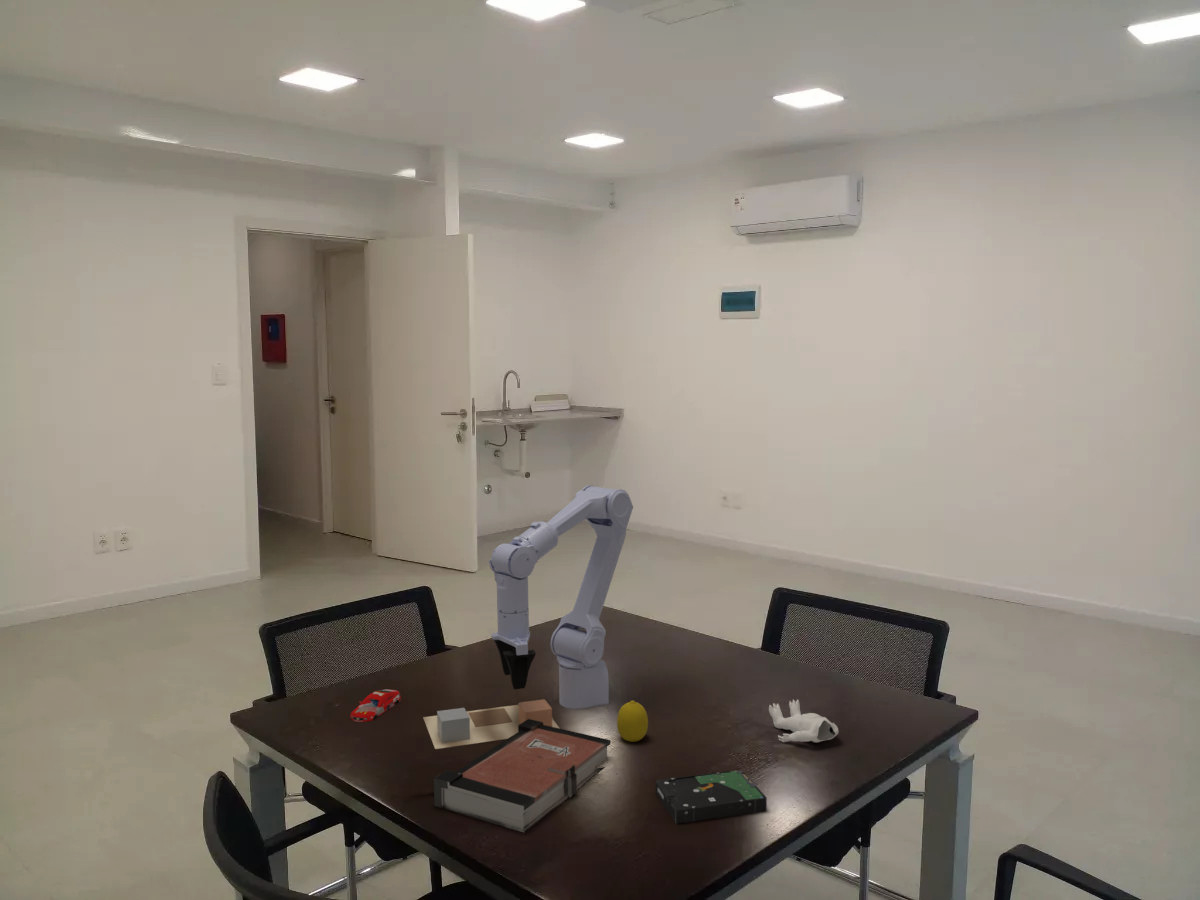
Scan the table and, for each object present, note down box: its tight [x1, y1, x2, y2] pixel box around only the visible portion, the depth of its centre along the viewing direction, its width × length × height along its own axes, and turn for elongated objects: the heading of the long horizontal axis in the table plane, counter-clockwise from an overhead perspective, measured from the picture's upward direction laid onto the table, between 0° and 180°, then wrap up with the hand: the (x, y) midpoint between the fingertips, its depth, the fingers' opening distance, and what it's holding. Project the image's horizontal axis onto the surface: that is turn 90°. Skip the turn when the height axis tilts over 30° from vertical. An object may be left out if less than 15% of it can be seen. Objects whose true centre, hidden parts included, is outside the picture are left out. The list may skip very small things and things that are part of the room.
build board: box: [422, 704, 561, 750], centre depth 171 cm, size 23×15×1 cm, turn 109°
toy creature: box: [768, 699, 840, 743], centre depth 167 cm, size 12×6×12 cm
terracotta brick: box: [518, 698, 553, 727], centre depth 169 cm, size 5×5×4 cm
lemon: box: [616, 699, 649, 743], centre depth 164 cm, size 6×6×8 cm
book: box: [433, 719, 611, 834], centre depth 149 cm, size 26×18×5 cm
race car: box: [349, 689, 402, 723], centre depth 178 cm, size 13×5×4 cm, turn 161°
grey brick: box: [436, 707, 470, 743], centre depth 165 cm, size 5×5×4 cm
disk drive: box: [654, 770, 768, 825], centre depth 142 cm, size 10×3×15 cm
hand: (514, 681), depth 169 cm, fingers open, 7 cm apart
